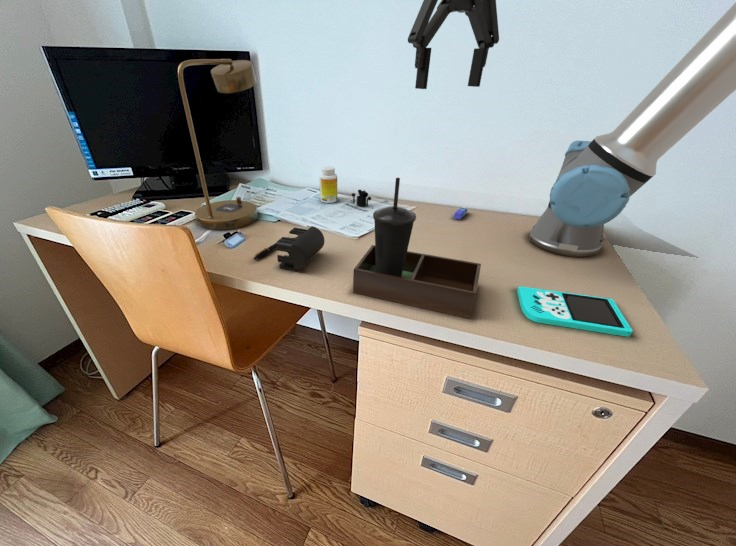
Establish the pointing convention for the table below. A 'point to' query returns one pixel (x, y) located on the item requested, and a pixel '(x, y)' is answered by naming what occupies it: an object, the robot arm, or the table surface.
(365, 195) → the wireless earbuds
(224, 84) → the lamp
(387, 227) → the drinking cup
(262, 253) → the fountain pen
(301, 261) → the end cap
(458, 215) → the eraser
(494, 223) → the table surface
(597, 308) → the handheld game console
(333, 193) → the supplement bottle
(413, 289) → the divided storage box
